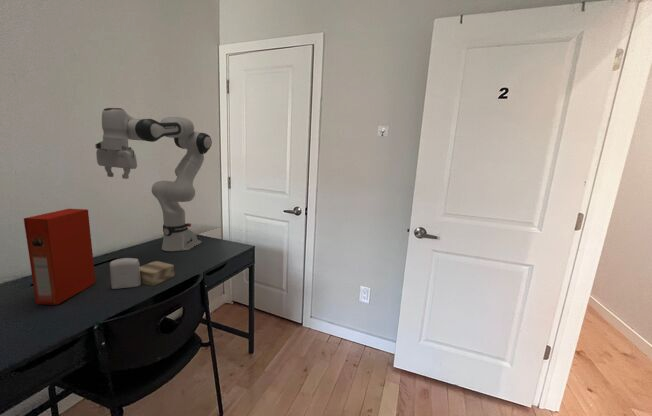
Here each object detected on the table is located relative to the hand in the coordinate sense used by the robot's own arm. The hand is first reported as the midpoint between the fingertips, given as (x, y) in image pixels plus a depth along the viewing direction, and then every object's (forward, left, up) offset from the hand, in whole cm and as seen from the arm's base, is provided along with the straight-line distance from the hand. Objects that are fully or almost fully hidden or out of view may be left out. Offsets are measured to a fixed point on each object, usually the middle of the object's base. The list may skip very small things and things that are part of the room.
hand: (117, 177), depth 124 cm
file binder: (+24, +2, -44) cm, 50 cm away
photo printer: (+11, +16, -44) cm, 48 cm away
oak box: (+1, +20, -44) cm, 48 cm away
